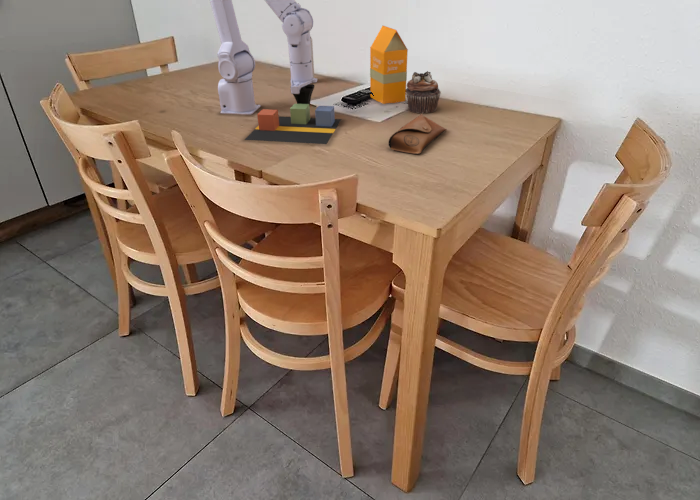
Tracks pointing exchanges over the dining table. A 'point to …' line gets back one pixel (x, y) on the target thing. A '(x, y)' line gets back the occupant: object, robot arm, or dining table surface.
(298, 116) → the sage block
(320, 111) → the blue block
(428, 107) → the cupcake
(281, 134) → the line mat
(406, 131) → the sunglasses case
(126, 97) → the dining table surface
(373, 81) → the orange juice
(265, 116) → the terracotta block
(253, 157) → the dining table surface
